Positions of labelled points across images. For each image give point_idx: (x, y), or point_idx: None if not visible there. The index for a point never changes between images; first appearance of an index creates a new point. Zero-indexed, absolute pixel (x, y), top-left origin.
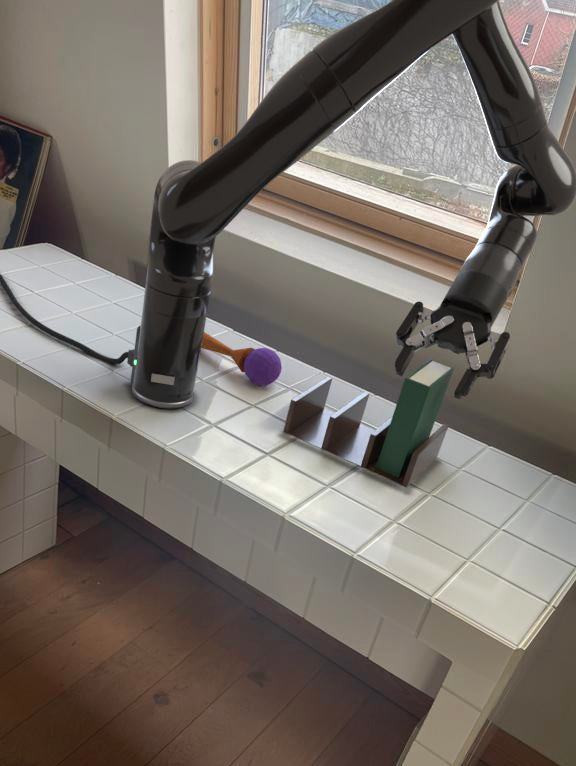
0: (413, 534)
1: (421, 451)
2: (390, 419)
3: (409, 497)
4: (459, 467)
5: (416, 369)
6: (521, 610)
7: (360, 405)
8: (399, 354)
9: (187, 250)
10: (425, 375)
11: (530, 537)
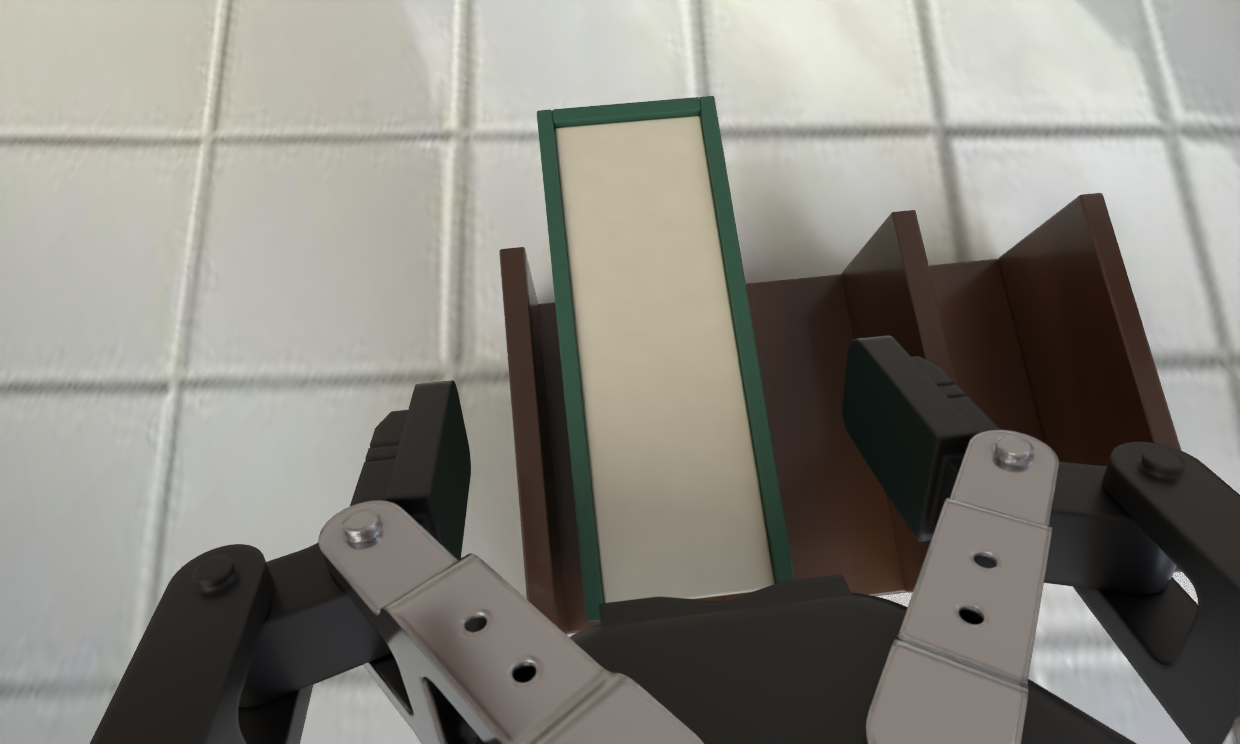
0: (388, 124)
1: (503, 284)
2: None
3: (493, 296)
4: None
5: (744, 283)
6: (16, 55)
7: None
8: (970, 401)
9: None
10: (659, 274)
11: (70, 428)
